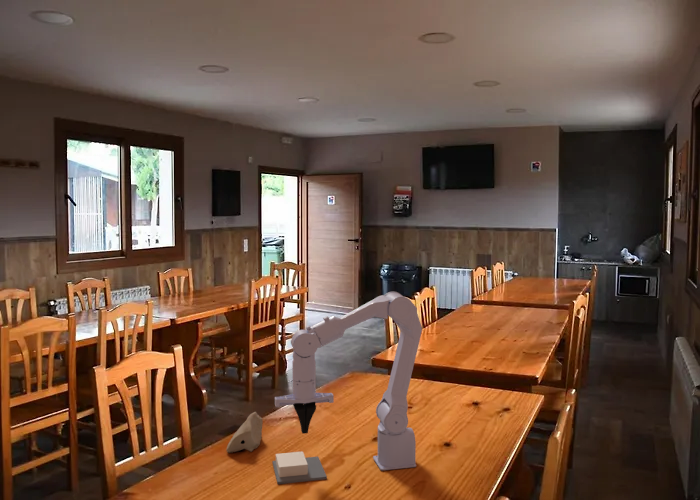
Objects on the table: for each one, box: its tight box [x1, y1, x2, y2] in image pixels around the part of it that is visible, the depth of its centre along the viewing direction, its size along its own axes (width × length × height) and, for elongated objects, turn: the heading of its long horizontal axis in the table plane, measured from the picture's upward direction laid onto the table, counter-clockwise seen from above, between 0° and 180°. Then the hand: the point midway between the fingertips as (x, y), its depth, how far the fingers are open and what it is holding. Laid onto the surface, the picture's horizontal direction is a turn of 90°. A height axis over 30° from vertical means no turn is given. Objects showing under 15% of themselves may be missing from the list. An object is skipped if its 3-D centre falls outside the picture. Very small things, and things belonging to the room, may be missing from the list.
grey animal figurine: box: [226, 411, 263, 454], centre depth 166 cm, size 8×14×8 cm, turn 174°
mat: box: [272, 456, 328, 485], centre depth 150 cm, size 12×12×1 cm
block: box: [275, 450, 308, 477], centre depth 150 cm, size 2×8×7 cm
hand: (304, 432), depth 150 cm, fingers closed
